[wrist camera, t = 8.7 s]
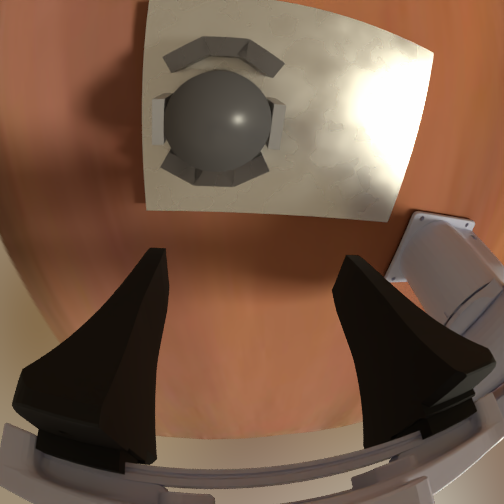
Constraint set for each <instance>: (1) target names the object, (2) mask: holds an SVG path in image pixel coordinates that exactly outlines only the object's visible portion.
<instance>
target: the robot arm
mask: <svg viewBox="0 0 504 504" xmlns="http://www.w3.org/2000/svg"><path fill="white" fill-rule="evenodd" d="M420 217H421V218H420ZM474 225H475V222H474V221H473V220H470V219H464V218H458V217H453V216H447V215H440V214H434V213H428V212H421V211H416V212H414V213H413V215H412V217H411V219H410V222H409V224H408V226H407V229H406V231H405V233H404V236H403V238H402V240H401V243H400V245H399V247H398V249H397V251H396V254H395V256H394V258H393V260H392V262H391V264H390V266H389V268H388V270H387V272H386V274H385V276H384V277H383V276H382V275H381V274H380V273H379V272H378V271H376V270H375V269H374V268H373V267H372V266H371V265H370V264H369V263H367V262H366V261H365V260H364V259H363V258H361V257H360V256H358V255H346V257H345V259H344V262H343V264H342V267H341V269H340V272H339V274H338V277H337V279H336V282H335V284H334V287H333V289H332V293H333V298H334V303H335V307H336V311H337V314H338V317H339V320H340V322H341V325H342V328H343V331H344V333H345V336H346V339H347V342H348V345H349V347H350V350H351V353H352V356H353V360H354V363H355V368H356V373H357V378H358V383H359V389H360V396H361V404H362V414H363V434H364V435H363V436H364V437H363V438H364V440H363V441H364V442H363V446H364V449H363V450H359V451H355V452H352V453H348V454H343V455H339V456H334V457H330V458H325V459H320V460H315V461H309V462H303V463H297V464H289V465H281V466H272V467H261V468H249V469H220V470H218V469H215V470H213V469H211V470H210V469H209V470H207V469H182V468H168V467H157V466H148V465H150V464H152V463H153V462H154V461H155V460H156V459H157V455H156V435H155V389H156V370H157V361H158V355H159V349H160V344H161V339H162V334H163V329H164V324H165V319H166V314H167V307H168V296H169V280H168V270H167V259H166V248H149V249H148V250H147V252H146V253H145V254H144V256H143V257H142V259H141V260H140V261H139V263H138V264H137V265H136V267H135V268H134V269H133V270H132V272H131V273H130V274H129V275H128V277H127V278H126V279H125V281H124V282H123V283H122V284H121V285H120V287H119V288H118V289H117V290H116V291H115V292H114V294H113V295H112V296H111V297H110V298H109V299H108V301H107V302H106V303H105V304H104V305H103V306H102V307H101V308H100V309H99V310H98V311H97V312H96V313H95V314H94V315H93V316H92V317H91V318H90V319H89V320H88V321H87V322H86V323H85V324H84V325H82V326H81V327H80V328H79V329H78V330H77V331H76V332H75V333H73V334H72V335H71V336H70V337H69V338H67V339H66V340H65V341H64V342H62V343H61V344H60V345H59V346H57V347H56V348H54V349H53V350H52V351H50V352H49V353H47V354H46V355H44V356H43V357H41V358H40V359H38V360H36V361H35V362H33V363H32V364H30V365H28V366H27V367H25V368H24V369H22V372H21V375H20V378H19V380H18V384H17V387H16V391H15V395H14V398H13V402H12V406H13V408H14V410H15V411H16V412H17V413H18V414H19V415H20V416H22V417H23V418H24V419H26V420H27V421H29V422H30V423H31V424H33V425H34V426H35V427H37V428H38V429H39V430H38V436H36V435H34V434H32V433H30V432H28V431H25V430H23V429H20V428H18V427H16V426H13V425H11V424H9V423H5V425H4V431H3V436H2V441H1V447H0V486H2V487H3V488H5V489H7V490H9V491H10V492H12V493H14V494H16V495H18V496H20V497H22V498H24V499H25V500H27V501H29V502H31V503H34V504H215V498H214V497H213V496H212V495H210V494H191V493H180V492H169V491H168V490H167V489H166V488H165V487H175V488H176V487H177V488H192V489H193V488H194V489H236V488H253V487H265V486H273V485H282V484H290V483H295V482H302V481H308V480H313V479H318V478H323V477H328V476H332V475H336V474H340V473H344V472H348V471H352V470H355V469H359V468H362V467H366V466H369V465H372V464H375V463H378V462H381V461H384V460H387V459H390V458H391V460H390V461H389V463H388V464H386V465H383V466H380V467H378V468H375V469H373V470H371V471H368V472H366V473H363V474H360V475H357V476H354V477H352V478H351V481H352V485H353V488H352V489H350V490H346V491H342V492H339V493H334V494H331V495H326V496H322V497H317V498H312V499H307V500H301V501H296V502H289V503H282V504H435V502H434V498H433V495H435V494H436V493H438V492H439V491H440V490H442V489H443V488H445V487H446V486H447V485H449V484H450V483H451V482H453V481H454V480H455V479H456V478H458V477H459V476H460V475H462V473H464V472H465V471H466V470H468V469H469V468H470V467H471V466H472V465H473V464H475V463H476V462H477V461H478V460H479V459H480V458H481V457H482V456H483V455H485V454H486V453H487V452H488V451H489V450H490V449H491V448H493V447H494V446H495V445H496V444H497V443H498V442H500V441H501V440H502V439H503V438H504V266H503V265H502V263H501V262H500V261H499V260H498V259H497V257H496V256H495V255H494V254H493V253H492V252H491V251H490V249H489V248H488V247H487V246H486V245H485V244H484V243H483V242H482V241H481V240H480V239H479V238H478V237H477V235H476V234H475V233H474V232H473V231H472V230H473V228H474ZM390 282H408V283H409V285H410V286H411V288H412V290H413V291H414V293H415V295H416V296H417V298H418V299H419V301H420V303H421V304H422V306H423V308H424V309H425V311H426V313H425V312H424V311H423V310H421V309H420V308H419V307H417V306H416V305H415V304H414V303H412V302H411V301H410V300H409V299H408V298H407V297H405V296H404V295H403V294H402V293H401V292H400V291H398V290H397V289H396V288H395V287H394V286H393V285H392V284H391V283H390ZM141 464H145V465H141ZM146 464H147V465H146ZM163 486H164V487H163Z"/></svg>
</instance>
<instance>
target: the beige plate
mask: <svg viewBox="0 0 504 504" xmlns="http://www.w3.org/2000/svg"><path fill="white" fill-rule="evenodd" d="M433 55H434V53H433V52H431V51H429V50H427V49H425V48H423V47H421V46H419V45H417V44H415V43H413V42H411V41H408V40H406V39H404V38H402V37H400V36H397V35H395V34H393V33H390V32H388V31H385V30H383V29H380V28H378V27H375V26H372V25H370V24H367V23H364V22H361V21H358V20H355V19H352V18H349V17H346V16H342V15H339V14H336V13H332V12H328V11H324V10H321V9H316V8H312V7H308V6H303V5H298V4H293V3H288V2H282V1H276V0H149V6H148V14H147V23H146V33H145V45H144V59H143V80H142V147H143V169H144V185H145V198H146V209H147V210H156V211H209V212H238V213H261V214H281V215H298V216H314V217H329V218H342V219H355V220H367V221H378V222H388V220H389V217H390V215H391V212H392V209H393V206H394V204H395V201H396V198H397V195H398V192H399V190H400V187H401V184H402V181H403V178H404V175H405V172H406V168H407V165H408V162H409V159H410V155H411V152H412V149H413V145H414V142H415V138H416V134H417V131H418V127H419V123H420V119H421V115H422V111H423V107H424V102H425V98H426V93H427V88H428V83H429V78H430V73H431V67H432V61H433ZM211 70H229V71H232V72H235V73H237V74H239V75H241V76H243V77H245V78H247V79H249V80H250V81H252V82H253V83H254V84H255V85H256V86H257V87H258V88H259V89H260V90H261V91H262V93H263V94H264V95H265V97H270V98H276V99H278V100H279V101H281V102H282V103H284V104H285V105H286V112H285V118H284V125H283V131H282V138H281V144H280V150H275V149H268V148H267V146H266V144H265V145H264V147H263V148H262V150H261V151H260V152H259V153H258V154H257V155H256V156H255V157H254V158H253V159H252V160H250V161H249V162H247V163H246V164H244V165H242V166H240V167H238V168H235V169H232V170H228V171H221V172H212V171H205V170H200V169H197V168H195V167H193V166H190V165H188V164H187V163H185V162H184V161H183V160H181V159H180V158H179V157H178V156H177V155H176V154H175V153H174V152H173V150H172V149H171V147H170V145H169V143H168V141H167V140H166V142H165V143H164V145H152V99H154V98H155V97H157V96H159V95H161V94H163V93H174V92H175V91H176V90H177V89H178V88H179V87H180V86H181V85H182V84H183V83H185V82H186V81H187V80H189V79H191V78H192V77H195V76H197V75H199V74H202V73H204V72H207V71H211Z"/></svg>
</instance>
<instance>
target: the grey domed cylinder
mask: <svg viewBox="0 0 504 504" xmlns="http://www.w3.org/2000/svg"><path fill="white" fill-rule="evenodd" d="M285 112H286V105H285V104H284V103H282V102H281V101H279V100H278V99H276V98H270V97H265V95H264V94H263V93H262V91H261V90H260V89H259V88H258V87H257V86H256V85H255V84H254V83H253V82H252V81H250V80H249V79H247V78H245V77H243V76H241V75H239V74H237V73H235V72H232V71H229V70H211V71H207V72H204V73H202V74H199V75H197V76H195V77H192V78H191V79H189V80H187V81H186V82H185V83H183V84H182V85H181V86H180V87H179V88H178V89H177V90H176V91H175V92H174V93H163V94H161V95H159V96H157V97H155V98H154V99H152V145H164V143H165V142H166V140H167V141H168V143H169V145H170V147H171V149H172V150H173V152H174V153H175V154H176V155H177V156H178V157H179V158H180V159H181V160H183V161H184V162H185V163H187V164H188V165H190V166H193V167H195V168H197V169H200V170H205V171H212V172H221V171H228V170H232V169H235V168H238V167H240V166H242V165H244V164H246V163H247V162H249V161H250V160H252V159H253V158H254V157H255V156H256V155H257V154H258V153H259V152H260V151H261V150H262V148H263V147H264V145H265V144H266V146H267V148H268V149H275V150H280V144H281V138H282V131H283V125H284V118H285Z"/></svg>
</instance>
